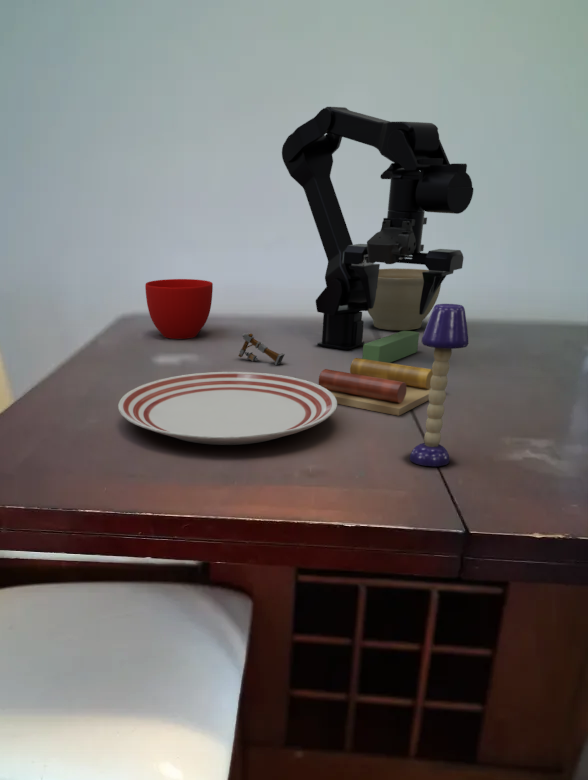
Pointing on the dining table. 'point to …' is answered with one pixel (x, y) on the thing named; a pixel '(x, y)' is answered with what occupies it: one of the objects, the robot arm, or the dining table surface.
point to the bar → (391, 347)
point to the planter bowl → (400, 299)
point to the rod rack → (379, 386)
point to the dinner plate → (228, 407)
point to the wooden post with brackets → (261, 347)
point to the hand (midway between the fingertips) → (395, 311)
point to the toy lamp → (440, 377)
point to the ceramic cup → (179, 306)
